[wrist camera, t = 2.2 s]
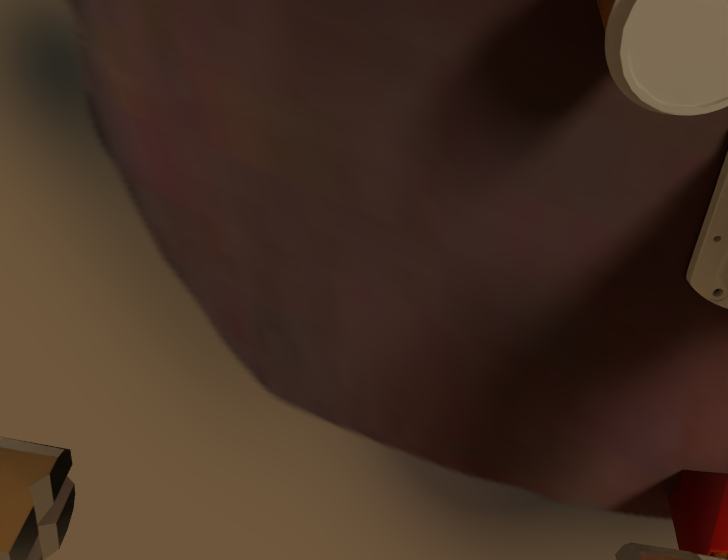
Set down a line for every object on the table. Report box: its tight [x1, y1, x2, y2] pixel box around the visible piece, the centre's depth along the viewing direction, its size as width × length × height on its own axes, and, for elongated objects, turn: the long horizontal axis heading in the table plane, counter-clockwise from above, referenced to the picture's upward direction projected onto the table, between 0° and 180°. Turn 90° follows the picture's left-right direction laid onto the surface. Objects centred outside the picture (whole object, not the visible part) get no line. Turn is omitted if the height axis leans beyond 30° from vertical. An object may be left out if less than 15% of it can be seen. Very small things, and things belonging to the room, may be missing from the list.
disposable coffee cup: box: [596, 0, 728, 115], centre depth 40 cm, size 10×10×12 cm
